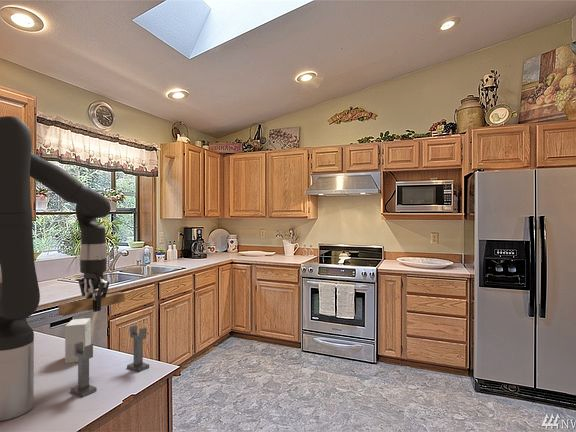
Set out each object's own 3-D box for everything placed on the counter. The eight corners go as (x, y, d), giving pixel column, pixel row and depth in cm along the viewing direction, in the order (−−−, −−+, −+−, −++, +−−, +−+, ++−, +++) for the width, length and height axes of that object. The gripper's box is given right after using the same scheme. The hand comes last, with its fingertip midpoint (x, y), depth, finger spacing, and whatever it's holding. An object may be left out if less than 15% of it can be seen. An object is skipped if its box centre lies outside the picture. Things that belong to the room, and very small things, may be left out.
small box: (71, 354, 126) (71, 319, 126) (91, 352, 128) (91, 317, 128) (64, 363, 118) (64, 325, 118) (85, 361, 120) (85, 323, 120)
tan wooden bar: (63, 316, 102) (63, 305, 102) (58, 314, 104) (58, 304, 104) (124, 301, 120) (124, 292, 120) (119, 300, 121) (119, 292, 121)
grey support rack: (82, 397, 95) (82, 348, 96) (70, 391, 98) (70, 344, 99) (149, 367, 115) (149, 326, 115) (137, 363, 118) (137, 324, 118)
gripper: (69, 257, 112) (69, 310, 112) (95, 260, 105) (95, 316, 105) (92, 255, 118) (92, 305, 118) (117, 257, 111) (117, 310, 111)
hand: (93, 310), depth 112 cm, fingers closed on tan wooden bar, 3 cm apart
